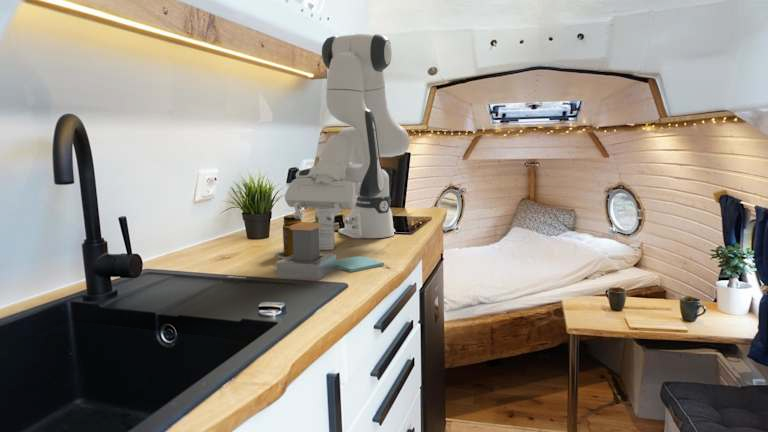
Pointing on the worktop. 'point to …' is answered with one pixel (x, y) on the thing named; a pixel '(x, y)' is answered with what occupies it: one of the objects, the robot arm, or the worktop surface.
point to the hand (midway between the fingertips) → (313, 218)
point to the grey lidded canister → (306, 241)
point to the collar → (306, 267)
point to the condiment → (288, 236)
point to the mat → (357, 263)
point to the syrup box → (325, 229)
